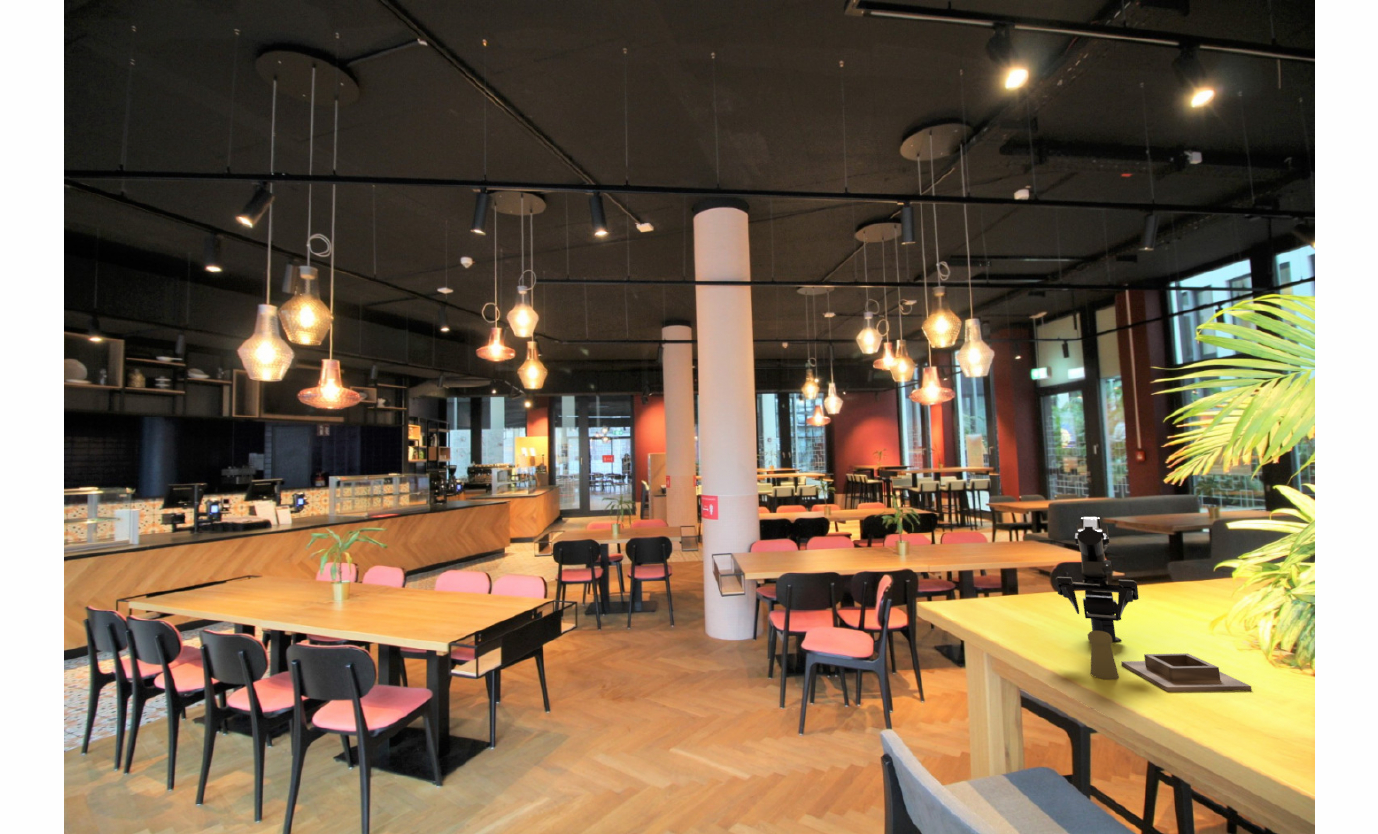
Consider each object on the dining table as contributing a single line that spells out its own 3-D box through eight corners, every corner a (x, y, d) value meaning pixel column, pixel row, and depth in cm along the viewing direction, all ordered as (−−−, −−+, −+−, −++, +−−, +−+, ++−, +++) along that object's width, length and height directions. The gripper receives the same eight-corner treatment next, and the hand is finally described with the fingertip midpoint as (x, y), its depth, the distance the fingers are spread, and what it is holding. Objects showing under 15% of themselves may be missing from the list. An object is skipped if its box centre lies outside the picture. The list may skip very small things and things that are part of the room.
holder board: (1121, 665, 155) (1119, 649, 155) (1195, 663, 153) (1193, 648, 153) (1167, 691, 137) (1165, 674, 138) (1251, 690, 135) (1249, 672, 135)
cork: (1123, 679, 146) (1118, 635, 147) (1097, 679, 147) (1091, 635, 148) (1111, 671, 151) (1106, 628, 152) (1086, 671, 153) (1080, 628, 154)
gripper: (1052, 548, 168) (1054, 595, 158) (1132, 550, 157) (1140, 601, 147) (1057, 571, 174) (1059, 617, 164) (1134, 574, 163) (1142, 624, 153)
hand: (1098, 614), depth 157 cm, fingers open, 9 cm apart
